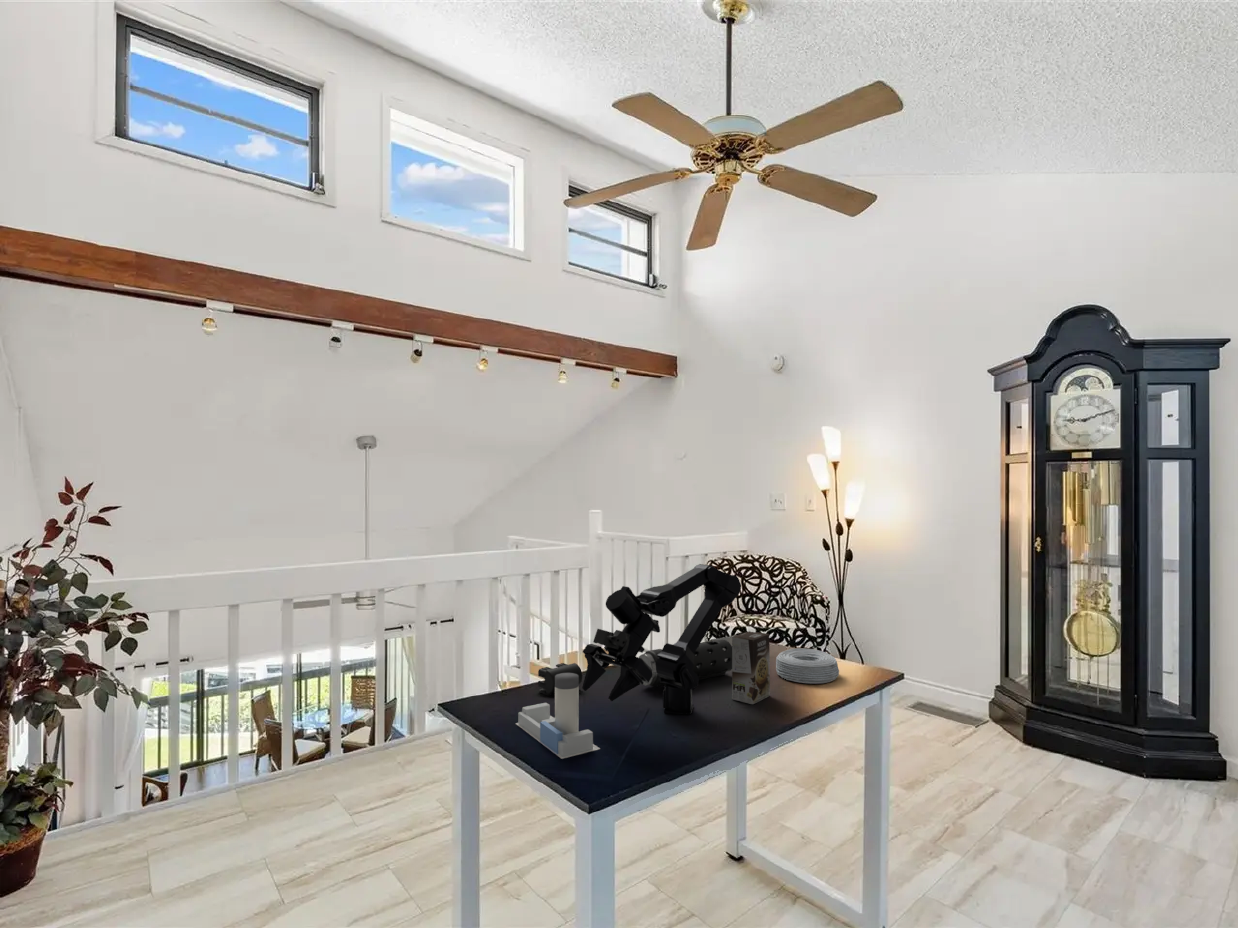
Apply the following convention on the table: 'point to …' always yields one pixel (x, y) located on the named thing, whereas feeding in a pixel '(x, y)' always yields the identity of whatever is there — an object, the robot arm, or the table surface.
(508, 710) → the table surface
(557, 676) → the white capped cylinder
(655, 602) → the robot arm
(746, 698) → the cookie box
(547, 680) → the black piece
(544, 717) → the white slotted stand
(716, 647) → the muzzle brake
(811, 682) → the cable
